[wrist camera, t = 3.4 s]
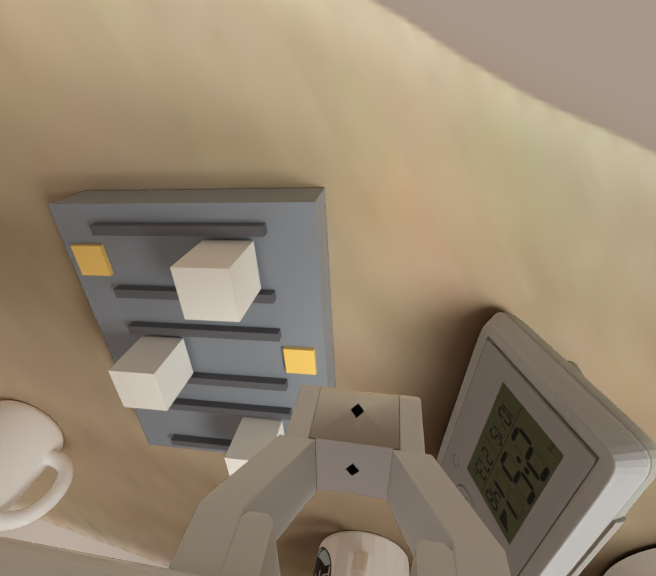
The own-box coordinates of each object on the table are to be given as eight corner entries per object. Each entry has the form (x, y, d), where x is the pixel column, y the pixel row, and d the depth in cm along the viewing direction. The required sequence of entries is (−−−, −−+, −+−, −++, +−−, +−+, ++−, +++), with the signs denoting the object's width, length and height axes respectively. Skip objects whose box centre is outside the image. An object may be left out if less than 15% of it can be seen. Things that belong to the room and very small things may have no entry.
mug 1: (98, 423, 37) (4, 533, 28) (103, 471, 41) (22, 579, 32) (-17, 386, 37) (-148, 484, 28) (-1, 438, 41) (-110, 537, 32)
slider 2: (253, 240, 20) (228, 268, 17) (261, 288, 22) (239, 321, 19) (202, 240, 21) (169, 267, 18) (213, 287, 22) (184, 319, 19)
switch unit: (324, 187, 22) (312, 205, 19) (338, 433, 32) (332, 471, 29) (84, 190, 24) (38, 207, 21) (167, 416, 34) (145, 450, 31)
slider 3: (282, 419, 27) (267, 462, 24) (286, 447, 29) (273, 490, 26) (242, 416, 28) (224, 457, 25) (249, 443, 29) (232, 485, 26)
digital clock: (494, 292, 23) (558, 430, 14) (630, 336, 23) (781, 502, 14) (400, 447, 32) (402, 596, 22) (500, 479, 32) (543, 642, 23)
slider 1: (183, 338, 25) (153, 374, 22) (193, 372, 26) (167, 410, 23) (142, 335, 25) (108, 370, 22) (154, 369, 27) (124, 406, 24)
